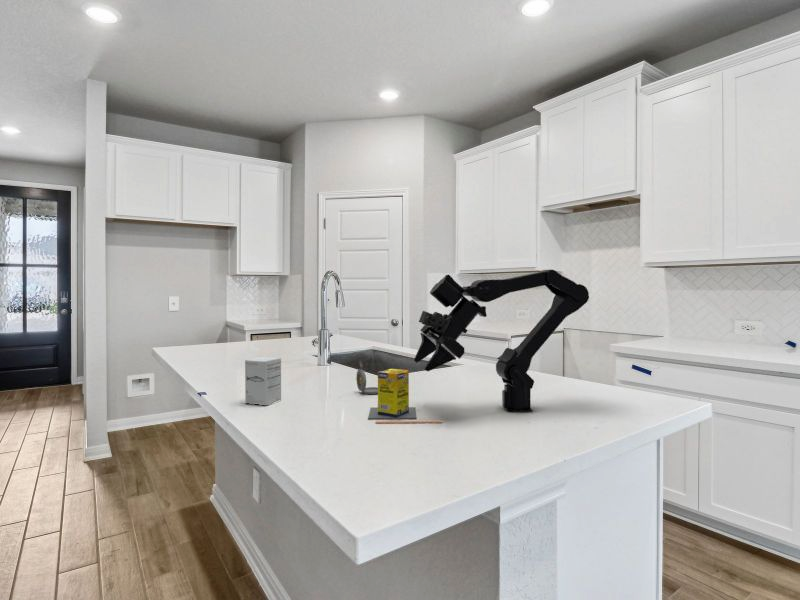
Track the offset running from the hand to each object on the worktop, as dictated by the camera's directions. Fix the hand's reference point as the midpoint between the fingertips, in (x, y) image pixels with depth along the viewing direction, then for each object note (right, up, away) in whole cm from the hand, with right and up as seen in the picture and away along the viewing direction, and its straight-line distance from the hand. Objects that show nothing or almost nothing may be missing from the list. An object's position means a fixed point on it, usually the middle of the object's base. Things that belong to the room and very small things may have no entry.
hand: (420, 365), depth 122 cm
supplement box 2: (-7, -12, -1) cm, 14 cm away
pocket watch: (-15, -12, +25) cm, 31 cm away
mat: (-7, -12, +1) cm, 14 cm away
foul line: (-3, -13, -8) cm, 15 cm away
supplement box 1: (-44, -13, +14) cm, 48 cm away
